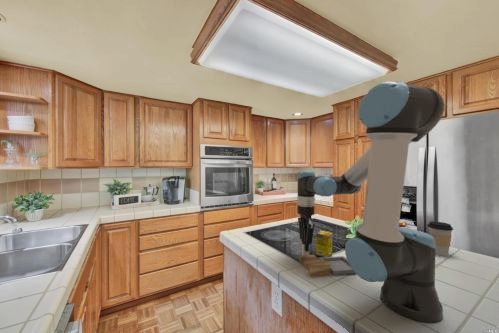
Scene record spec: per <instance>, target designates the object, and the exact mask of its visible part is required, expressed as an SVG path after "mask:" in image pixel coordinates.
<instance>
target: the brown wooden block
mask: <svg viewBox="0 0 499 333" xmlns="http://www.w3.org/2000/svg"><path fill="white" fill-rule="evenodd" d="M315 261H320V260H319V257H318V256H316V254H309V255H302V254H301V255H299V256H298V262H299V263H300V264H301V265H302V266H303V268H304V269H305V270H306V271H308V262H315Z"/></svg>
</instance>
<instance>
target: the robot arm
mask: <svg viewBox="0 0 499 333" xmlns="http://www.w3.org/2000/svg"><path fill="white" fill-rule="evenodd" d="M357 111H358V115H357V116H358V119H359V120H360V122H361V124H362V125H363V126H365V127H366V128H365V129H366V130H365V136H366V137H367V138H368V139H369V140H370V147H369V148H368V149H367V150H366V151H365V152H364V153H363V154H362V155H361V156H360V157H359V158H358V159H357V160H356V161H355V162H354V163H353V164H352V165H351V166H350V167H349V168H348V169H347V170H346V171H345V172H344V173H343V174H341V175H340V176H316V173H315V172H314V171H313V170H312V171H309V170H308V171H307V170H306V171H305V170H304V171H303V170H301V171H298V173H297V179H296V180H297V194H296V196H297V199H296V200H297V208H296V209H297V211H296V212H297V214H298V215H300V216H299V217H297V221H298V230H299V232H298V233H299V240H301V256H302V255H310V245H311V244H313V238H314V229H315V226H316V225H315V223H313V222H312V216H314V215H315V210H316V209H315V201H316V198H315V195H317V196H321V197H331V196H333V195H334V196H336V195H353V194H354V195H355V194H357V193H359V192H360V191H361V189H362V184H363V183H364V182H366V188H365V199H364V207H363V216H362V222H361V223H359V224H358V225H356V228H355V237H351V238H350V239H349V240H347V242H346V243H345V247H344V252H345V258H347V260H348V263H349V264H350V266H351V268H352V269H353V271H354V272H355V273H356V274H355V275H357V276H358V277H359V278H360V279H362V280H364V281H365V282H369V283H377V282H378V283H383V284H382V286H381V287H380V299H381V301H382V303H384V304H385V305H386V306H387V307H388V308H389V309H390V310H392V311H394V312H396V313H397V314H400V315H401V316H404V317H406V318H408V319H412V320H415V321H419V322H424V323H438V322H440V321H441V320H442V319H443V318H444V309H443V308H444V307H443V305H442V303H441V302H440V298H439V295H438V292H437V289H436V254H435V250H436V248H435V240H434V238H433V237H432V236H431V235H430V233H426V232H423V231H420V230H415V229H412V228H408V227H402V226H400V221H401V220H400V219H401V211H402V203H403V194H404V186H405V185H404V184H405V179H406V178H405V177H406V171H407V170H406V168H407V162H408V153H409V145H410V144H411V143H417V142H420V140H421V139H423V138H424V137H425V136H426V135H427V134H429V133H430V132H431V131H432V130H433V129H434V128H435V127H436V126H437V125H438V123H439V122H440V121H441V119H442V117H443V115H444V113H445V101H444V97H443V96H442V95H441V93H439V92H438V91H437V90H436V89H434V88H430V87H427V86H420V85H419V86H418V85H414V84H409V83H405V82H402V81H383V82H381V83H378V84H375V85H374V86H373V87H371V88H370V89H369V90H368V92H367V93H366V94H365V95H364V96H363V98H362V100H361V101H360V103H359V107H358V110H357Z"/></svg>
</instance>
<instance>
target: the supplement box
mask: <svg viewBox="0 0 499 333" xmlns="http://www.w3.org/2000/svg"><path fill="white" fill-rule="evenodd" d="M315 244H316V245H315V256H316V257H317V258H322V257H333V232H329V231H324V230H319V231H318V232H316V234H315Z"/></svg>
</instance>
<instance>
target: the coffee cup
mask: <svg viewBox="0 0 499 333" xmlns="http://www.w3.org/2000/svg"><path fill="white" fill-rule="evenodd" d="M427 227H428V228H429V231H428V232H429V235H431V236H432V237H433V238H434V240H435V248H436V250H435V256H438V257H439V256H440V257H449V253H450V247H451V241H452V231H453V230H454V227H453V226H452V225H451V223H446V222H443V221H442V222H441V221H429V223H428V224H427Z"/></svg>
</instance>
